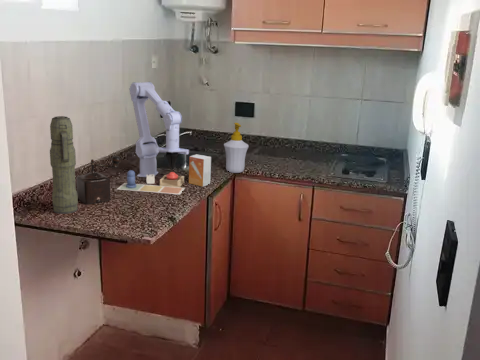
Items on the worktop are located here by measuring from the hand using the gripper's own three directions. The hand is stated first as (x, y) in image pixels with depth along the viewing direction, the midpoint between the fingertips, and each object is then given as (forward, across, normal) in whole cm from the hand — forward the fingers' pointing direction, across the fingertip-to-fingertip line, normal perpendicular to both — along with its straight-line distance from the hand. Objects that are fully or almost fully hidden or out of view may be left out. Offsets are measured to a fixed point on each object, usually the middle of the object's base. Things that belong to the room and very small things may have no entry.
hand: (172, 168), depth 221 cm
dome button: (+5, 0, 0) cm, 5 cm away
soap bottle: (+8, +25, +32) cm, 41 cm away
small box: (+8, +12, +4) cm, 15 cm away
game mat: (+7, -7, -10) cm, 14 cm away
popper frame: (+7, 0, 0) cm, 7 cm away
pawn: (+7, -16, -10) cm, 20 cm away
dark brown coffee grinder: (+8, -23, -28) cm, 37 cm away
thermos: (+8, -30, -44) cm, 53 cm away
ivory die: (+7, -10, 0) cm, 12 cm away
